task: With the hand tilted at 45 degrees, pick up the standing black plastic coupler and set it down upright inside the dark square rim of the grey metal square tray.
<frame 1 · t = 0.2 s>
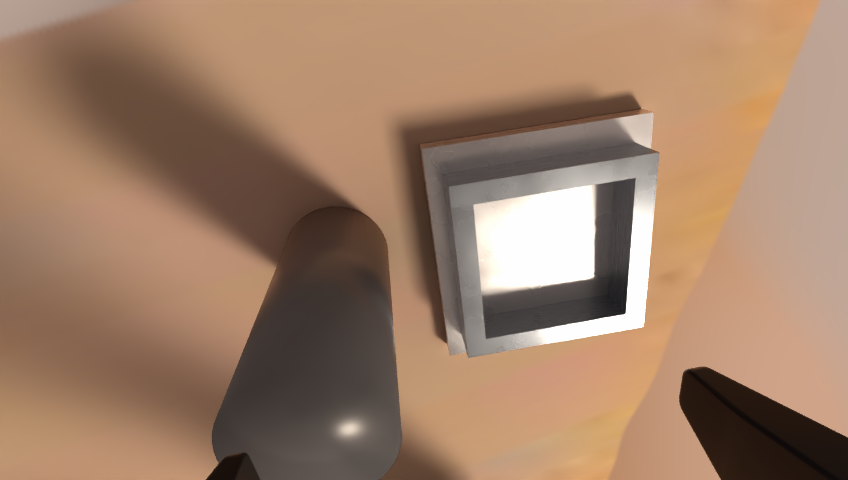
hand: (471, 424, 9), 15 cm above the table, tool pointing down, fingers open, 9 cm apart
square tray: (535, 237, 24), on the table
coupler: (337, 253, 24), on the table
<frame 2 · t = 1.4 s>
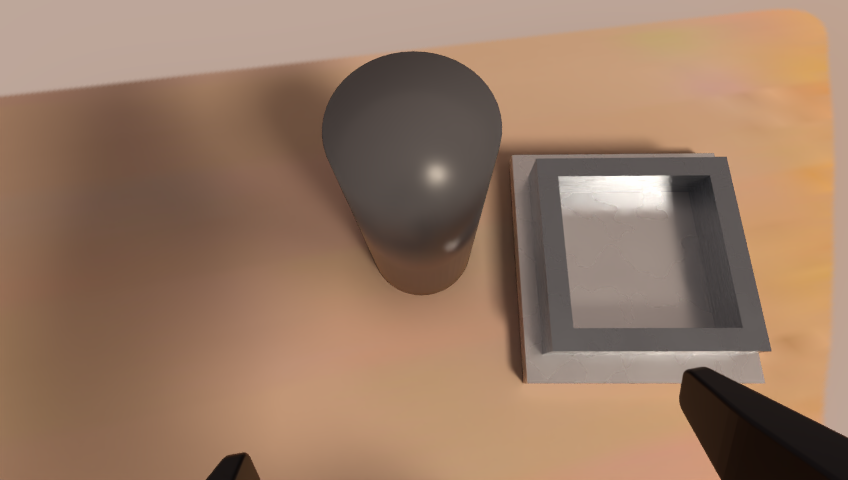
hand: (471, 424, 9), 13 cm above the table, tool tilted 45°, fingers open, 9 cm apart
square tray: (620, 264, 24), on the table
coupler: (421, 247, 25), on the table
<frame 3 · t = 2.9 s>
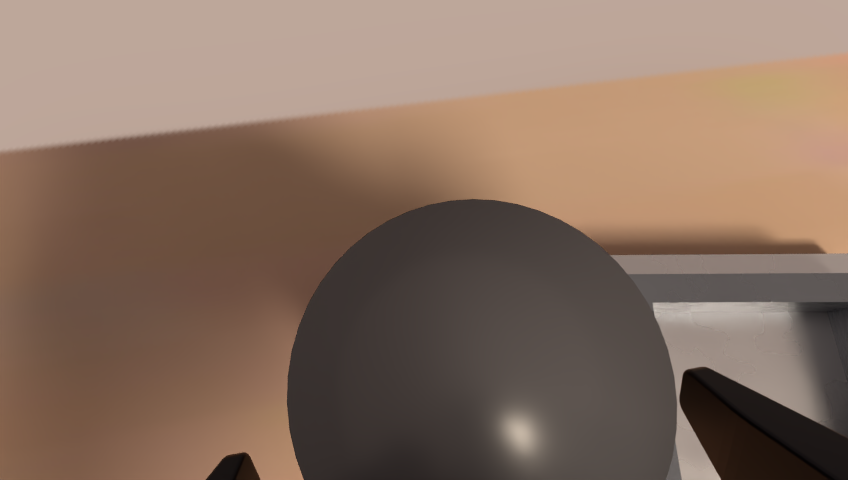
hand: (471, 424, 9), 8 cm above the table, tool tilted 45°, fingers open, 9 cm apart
square tray: (732, 416, 17), on the table
coupler: (450, 388, 17), on the table
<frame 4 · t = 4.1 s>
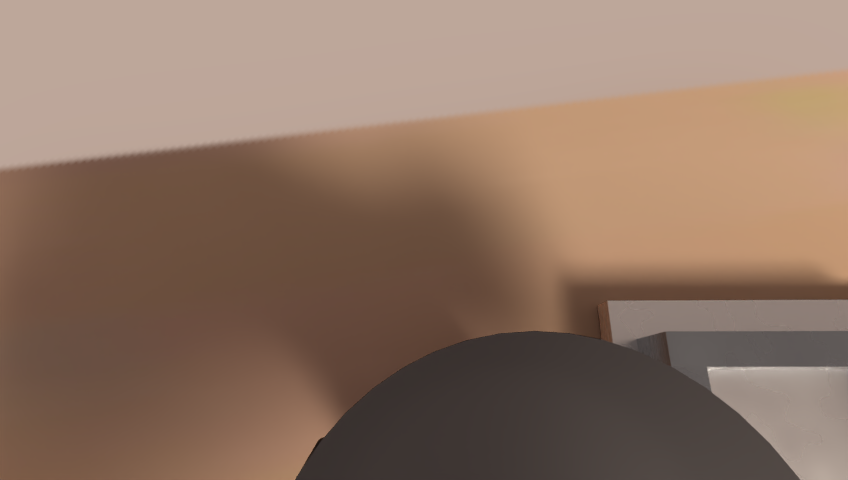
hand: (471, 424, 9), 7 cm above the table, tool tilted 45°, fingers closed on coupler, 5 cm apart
coupler: (463, 455, 15), on the table, touching gripper
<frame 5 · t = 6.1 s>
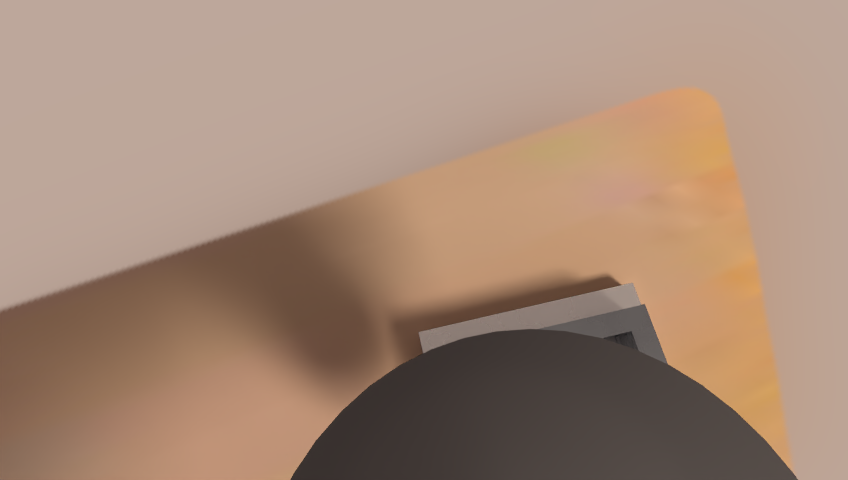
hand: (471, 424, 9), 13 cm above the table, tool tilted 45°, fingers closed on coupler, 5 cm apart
square tray: (559, 433, 22), on the table
coupler: (462, 455, 15), point 7 cm above the table, touching gripper
when the fingers open (10 cm above the table, at t = 7.9 s): coupler drops 2 cm, resting on square tray.
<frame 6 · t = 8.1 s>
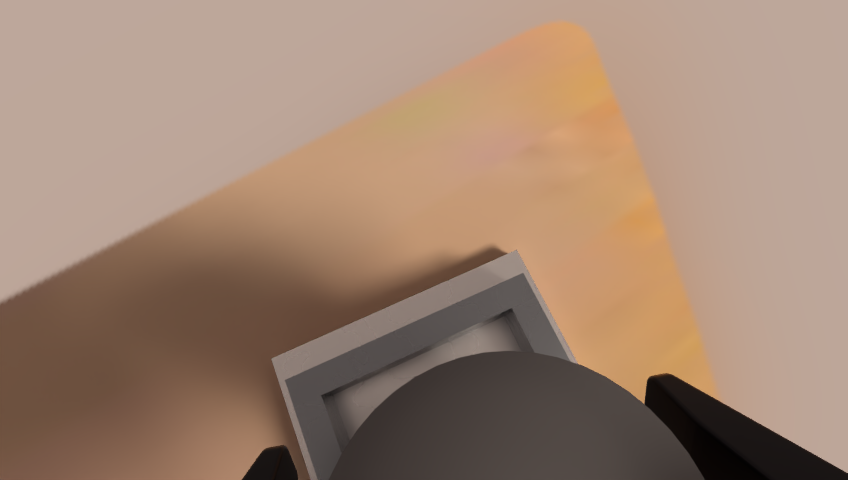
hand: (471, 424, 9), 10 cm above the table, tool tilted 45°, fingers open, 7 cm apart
square tray: (459, 444, 18), on the table
coupler: (461, 448, 17), point 1 cm above the table, touching square tray
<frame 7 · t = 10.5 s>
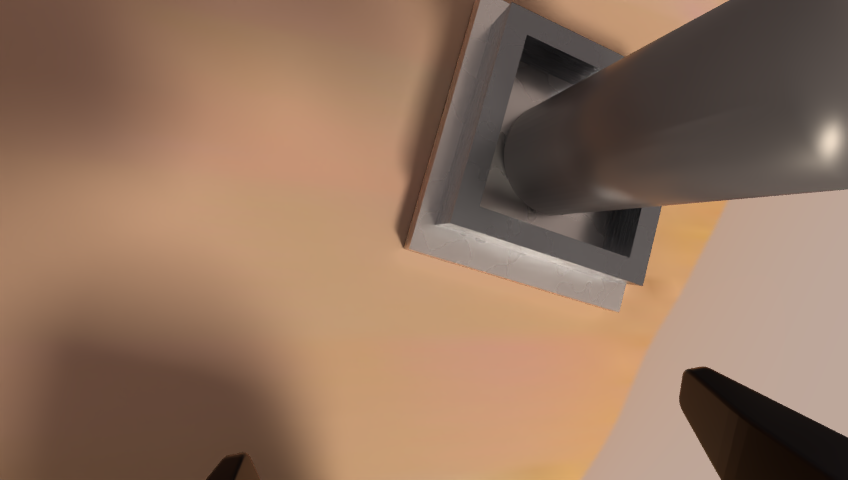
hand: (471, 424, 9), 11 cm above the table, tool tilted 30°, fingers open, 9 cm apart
square tray: (542, 162, 22), on the table
coupler: (554, 159, 21), point 1 cm above the table, touching square tray
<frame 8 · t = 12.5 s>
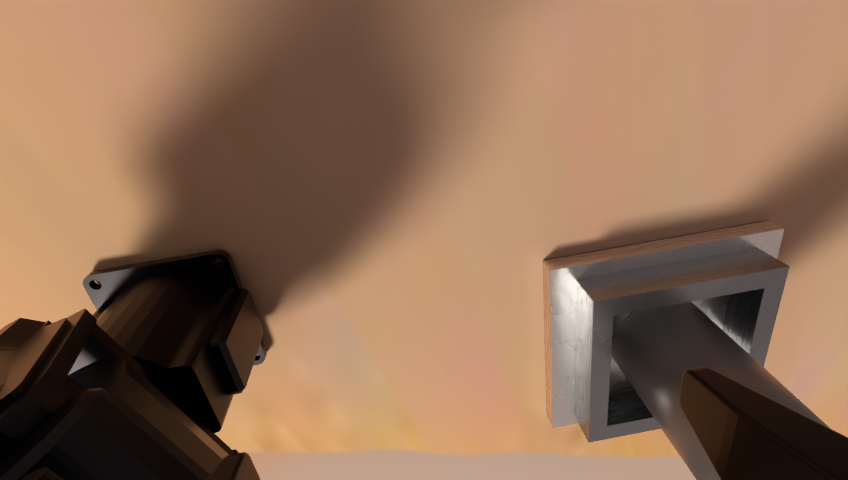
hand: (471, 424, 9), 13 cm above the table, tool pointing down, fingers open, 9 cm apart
square tray: (648, 326, 26), on the table
coupler: (657, 337, 25), point 1 cm above the table, touching square tray
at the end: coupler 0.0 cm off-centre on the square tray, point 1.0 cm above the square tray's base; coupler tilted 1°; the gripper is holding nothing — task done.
